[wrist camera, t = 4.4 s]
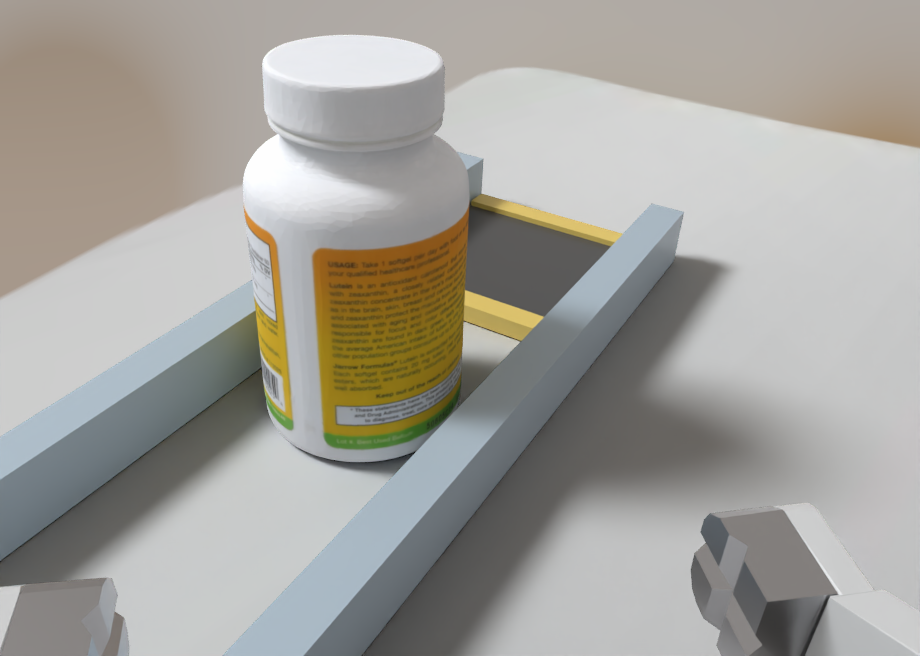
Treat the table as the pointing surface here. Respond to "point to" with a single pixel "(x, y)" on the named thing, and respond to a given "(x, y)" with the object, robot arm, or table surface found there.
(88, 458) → the channel
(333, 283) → the supplement bottle
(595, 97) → the table surface
